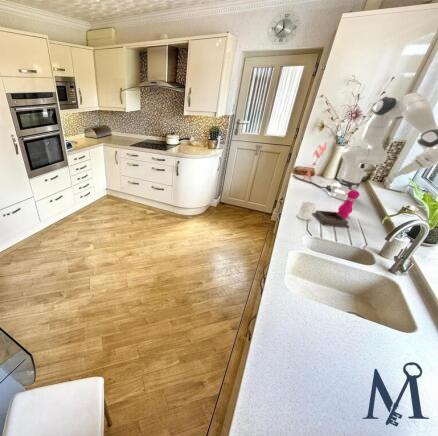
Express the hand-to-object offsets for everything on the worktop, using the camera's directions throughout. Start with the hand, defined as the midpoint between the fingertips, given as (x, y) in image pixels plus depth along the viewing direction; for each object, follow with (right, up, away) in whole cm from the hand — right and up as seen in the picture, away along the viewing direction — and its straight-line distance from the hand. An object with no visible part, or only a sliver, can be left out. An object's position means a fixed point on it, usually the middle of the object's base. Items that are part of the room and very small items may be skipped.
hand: (392, 177), depth 136 cm
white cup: (-39, -24, +19) cm, 50 cm away
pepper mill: (-9, -22, +24) cm, 34 cm away
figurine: (+13, +12, +85) cm, 87 cm away
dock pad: (-23, -25, +17) cm, 39 cm away
